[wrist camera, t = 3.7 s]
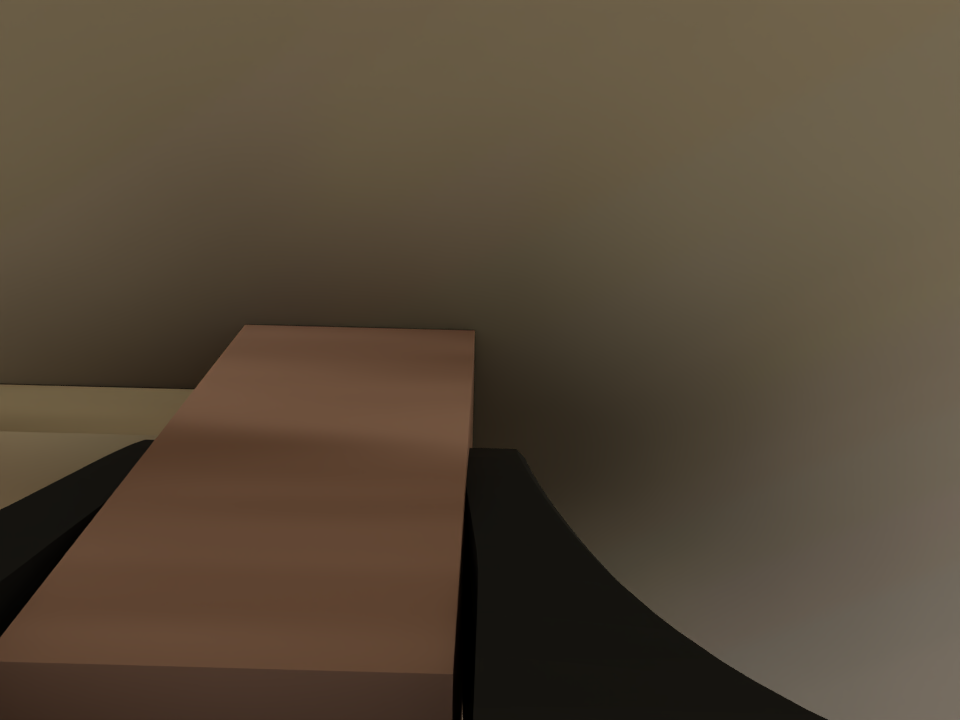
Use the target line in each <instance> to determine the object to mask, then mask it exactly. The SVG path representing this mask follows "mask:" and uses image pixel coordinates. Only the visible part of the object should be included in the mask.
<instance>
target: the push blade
mask: <svg viewBox="0 0 960 720" xmlns="http://www.w3.org/2000/svg"><path fill="white" fill-rule="evenodd" d="M474 352H475V331H474V330H434V329H394V328H355V327H315V326H275V325H244V327H243V328H242V329H241V330H240V332H239V333H238V334H237V335H236V337H235V338H234V339H233V341H232V342H231V343H230V344H229V346H228V347H227V348H226V350H225V351H224V352H223V353H222V355H221V356H220V357H219V358H218V360H217V361H216V362H215V364H214V365H213V366H212V367H211V369H210V370H209V371H208V373H207V374H206V375H205V376H204V378H203V379H202V380H201V381H200V383H199V384H198V385H197V387H196V388H195V389H157V388H118V387H79V386H40V385H1V384H0V509H2V508H4V507H7V506H9V505H11V504H13V503H15V502H17V501H19V500H21V499H22V498H24V497H26V496H28V495H30V494H32V493H34V492H36V491H38V490H40V489H42V488H44V487H46V486H48V485H50V484H52V483H54V482H56V481H58V480H60V479H62V478H63V477H65V476H67V475H69V474H71V473H73V472H75V471H77V470H79V469H81V468H83V467H85V466H87V465H89V464H91V463H93V462H95V461H97V460H99V459H101V458H103V457H105V456H107V455H109V454H111V453H113V452H115V451H117V450H120V449H122V448H124V447H126V446H129V445H131V444H134V443H137V442H139V441H142V440H145V439H146V440H154V442H153V443H152V444H151V445H150V447H149V448H148V449H147V451H146V452H145V453H144V454H143V456H142V457H141V458H140V459H139V461H138V462H137V463H136V465H135V466H134V467H133V468H132V470H131V471H130V472H129V474H128V475H127V476H126V477H125V479H124V480H123V481H122V482H121V484H120V485H119V486H118V488H117V489H116V490H115V491H114V493H113V494H112V495H111V497H110V498H109V499H108V500H107V502H106V503H105V504H104V505H103V507H102V508H101V509H100V511H99V512H98V513H97V514H96V516H95V517H94V518H93V520H92V521H91V522H90V523H89V525H88V526H87V527H86V528H85V530H84V531H83V532H82V534H81V535H80V536H79V537H78V539H77V540H76V541H75V543H74V544H73V545H72V546H71V548H70V549H69V550H68V551H67V553H66V554H65V555H64V557H63V558H62V559H61V560H60V562H59V563H58V564H57V566H56V567H55V568H54V569H53V571H52V572H51V573H50V574H49V576H48V577H47V578H46V580H45V581H44V582H43V583H42V585H41V586H40V587H39V589H38V590H37V591H36V592H35V594H34V595H33V596H32V598H31V599H30V600H29V601H28V603H27V604H26V605H25V606H24V608H23V609H22V610H21V612H20V613H19V614H18V615H17V617H16V618H15V619H14V621H13V622H12V623H11V624H10V626H9V627H8V628H7V629H6V631H5V632H4V633H3V635H2V636H1V637H0V720H462V685H463V628H464V570H465V513H466V479H467V467H468V456H469V448H473V402H474Z"/></svg>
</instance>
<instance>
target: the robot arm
mask: <svg viewBox="0 0 960 720" xmlns="http://www.w3.org/2000/svg"><path fill="white" fill-rule="evenodd" d="M153 442H154V440H146V439H145V440H142V441H139V442H137V443H134V444H131V445H129V446H126V447H124V448H122V449H120V450H117V451H115V452H113V453H111V454H109V455H107V456H105V457H103V458H101V459H99V460H97V461H95V462H93V463H91V464H89V465H87V466H85V467H83V468H81V469H79V470H77V471H75V472H73V473H71V474H69V475H67V476H65V477H63V478H62V479H60V480H58V481H56V482H54V483H52V484H50V485H48V486H46V487H44V488H42V489H40V490H38V491H36V492H34V493H32V494H30V495H28V496H26V497H24V498H22V499H21V500H19V501H17V502H15V503H13V504H11V505H9V506H7V507H4V508H2V509H0V637H1V636H2V635H3V633H4V632H5V631H6V629H7V628H8V627H9V626H10V624H11V623H12V622H13V621H14V619H15V618H16V617H17V615H18V614H19V613H20V612H21V610H22V609H23V608H24V606H25V605H26V604H27V603H28V601H29V600H30V599H31V598H32V596H33V595H34V594H35V592H36V591H37V590H38V589H39V587H40V586H41V585H42V583H43V582H44V581H45V580H46V578H47V577H48V576H49V574H50V573H51V572H52V571H53V569H54V568H55V567H56V566H57V564H58V563H59V562H60V560H61V559H62V558H63V557H64V555H65V554H66V553H67V551H68V550H69V549H70V548H71V546H72V545H73V544H74V543H75V541H76V540H77V539H78V537H79V536H80V535H81V534H82V532H83V531H84V530H85V528H86V527H87V526H88V525H89V523H90V522H91V521H92V520H93V518H94V517H95V516H96V514H97V513H98V512H99V511H100V509H101V508H102V507H103V505H104V504H105V503H106V502H107V500H108V499H109V498H110V497H111V495H112V494H113V493H114V491H115V490H116V489H117V488H118V486H119V485H120V484H121V482H122V481H123V480H124V479H125V477H126V476H127V475H128V474H129V472H130V471H131V470H132V468H133V467H134V466H135V465H136V463H137V462H138V461H139V459H140V458H141V457H142V456H143V454H144V453H145V452H146V451H147V449H148V448H149V447H150V445H151V444H152V443H153ZM462 709H463V720H828V719H825V718H823V717H821V716H819V715H817V714H815V713H813V712H811V711H809V710H807V709H805V708H803V707H801V706H799V705H797V704H795V703H794V702H792V701H790V700H788V699H786V698H784V697H783V696H781V695H779V694H777V693H775V692H773V691H772V690H770V689H768V688H766V687H764V686H762V685H761V684H759V683H757V682H755V681H753V680H752V679H750V678H748V677H747V676H745V675H744V674H742V673H740V672H739V671H737V670H735V669H734V668H732V667H730V666H729V665H727V664H725V663H724V662H722V661H721V660H719V659H718V658H716V657H715V656H713V655H712V654H710V653H709V652H707V651H706V650H704V649H703V648H702V647H700V646H699V645H697V644H696V643H694V642H693V641H691V640H690V639H689V638H687V637H686V636H684V635H683V634H681V633H680V632H678V631H677V630H676V629H674V628H673V627H672V626H670V625H669V624H668V623H666V622H665V621H664V620H663V619H661V618H660V617H659V616H657V615H656V614H655V613H654V612H652V611H651V610H650V609H649V608H648V607H647V606H646V605H644V604H643V603H642V602H641V601H640V600H639V599H637V598H636V597H635V596H634V595H633V594H632V593H630V592H629V591H628V590H627V589H626V588H625V587H623V586H622V585H621V584H620V583H619V582H618V581H617V580H616V579H615V578H614V577H613V576H612V575H611V574H610V573H609V572H608V571H607V570H606V569H605V567H604V566H603V565H602V564H601V563H600V562H599V561H598V560H597V559H596V558H595V557H594V555H593V554H592V553H591V552H590V551H589V550H588V549H587V548H586V546H585V545H584V544H583V543H582V542H581V540H580V539H579V538H578V537H577V536H576V534H575V533H574V532H573V530H572V529H571V528H570V527H569V525H568V524H567V523H566V521H565V520H564V519H563V518H562V516H561V515H560V514H559V512H558V511H557V510H556V508H555V507H554V506H553V504H552V503H551V501H550V500H549V498H548V497H547V495H546V494H545V492H544V491H543V489H542V488H541V486H540V485H539V483H538V482H537V480H536V478H535V477H534V475H533V473H532V472H531V470H530V468H529V466H528V464H527V462H526V460H525V458H524V457H523V456H522V455H521V454H520V453H519V452H518V450H517V449H490V448H469V456H468V467H467V479H466V513H465V570H464V628H463V685H462Z"/></svg>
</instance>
